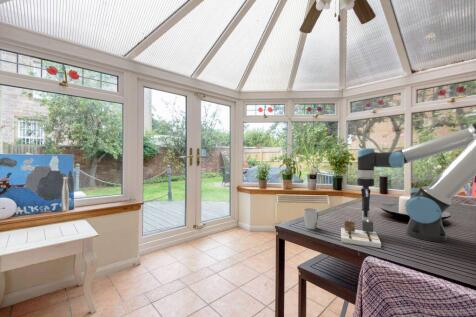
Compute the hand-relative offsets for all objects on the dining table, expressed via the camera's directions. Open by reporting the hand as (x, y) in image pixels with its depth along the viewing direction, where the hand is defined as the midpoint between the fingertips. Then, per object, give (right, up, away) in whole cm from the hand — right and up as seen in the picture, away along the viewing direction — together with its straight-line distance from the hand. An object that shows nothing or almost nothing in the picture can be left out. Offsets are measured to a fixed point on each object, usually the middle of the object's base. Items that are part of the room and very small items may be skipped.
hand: (365, 222), depth 112 cm
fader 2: (-3, -2, -7) cm, 8 cm away
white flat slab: (-9, -5, -10) cm, 14 cm away
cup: (-26, -5, +7) cm, 28 cm away
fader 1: (-12, -2, -6) cm, 13 cm away
